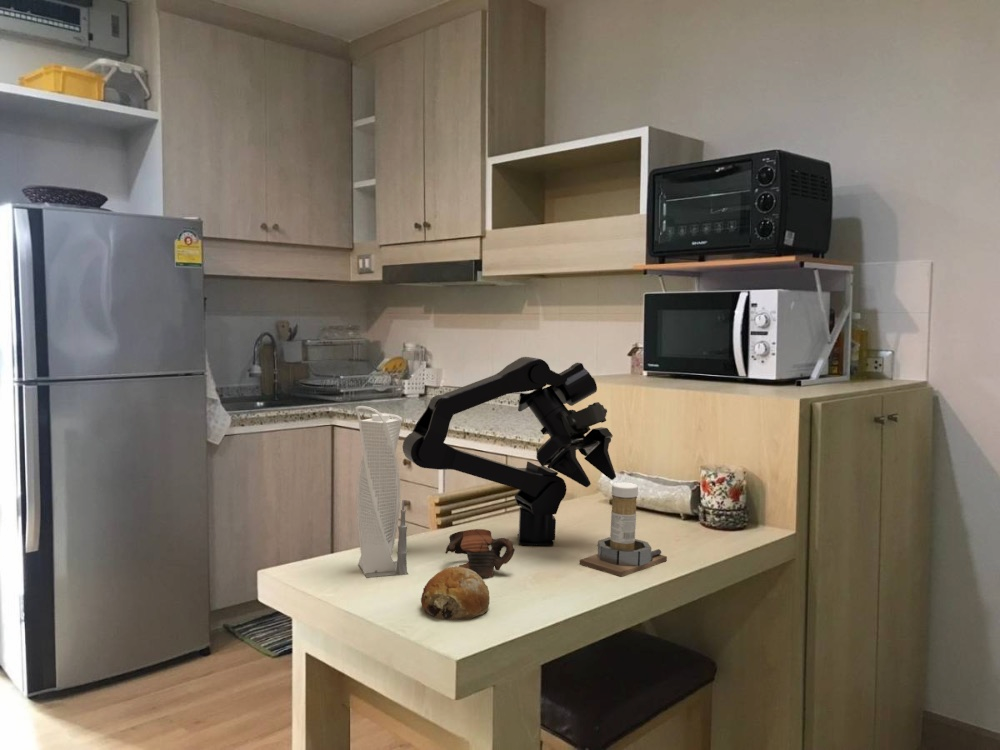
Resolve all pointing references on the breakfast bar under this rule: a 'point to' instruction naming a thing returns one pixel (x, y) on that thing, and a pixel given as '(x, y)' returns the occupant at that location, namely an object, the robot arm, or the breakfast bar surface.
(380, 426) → the skyscraper
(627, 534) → the sprinkles bottle
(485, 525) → the breakfast bar surface
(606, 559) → the collar
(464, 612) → the bread roll
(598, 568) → the walnut board
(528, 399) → the robot arm
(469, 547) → the pottery mug
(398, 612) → the breakfast bar surface
